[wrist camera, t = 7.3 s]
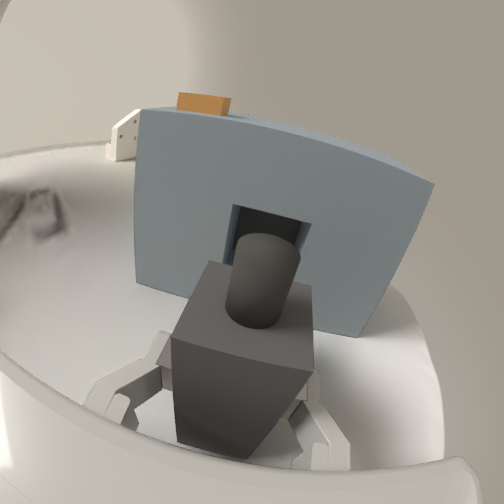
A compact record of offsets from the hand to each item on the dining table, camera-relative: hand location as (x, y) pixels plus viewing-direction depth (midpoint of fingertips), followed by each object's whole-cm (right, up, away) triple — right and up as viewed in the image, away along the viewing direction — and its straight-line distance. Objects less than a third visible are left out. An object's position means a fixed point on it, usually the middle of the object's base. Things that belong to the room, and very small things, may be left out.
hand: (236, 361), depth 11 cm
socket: (+1, +2, +13) cm, 13 cm away
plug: (-1, -4, +4) cm, 5 cm away
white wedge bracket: (-26, +23, +38) cm, 52 cm away
